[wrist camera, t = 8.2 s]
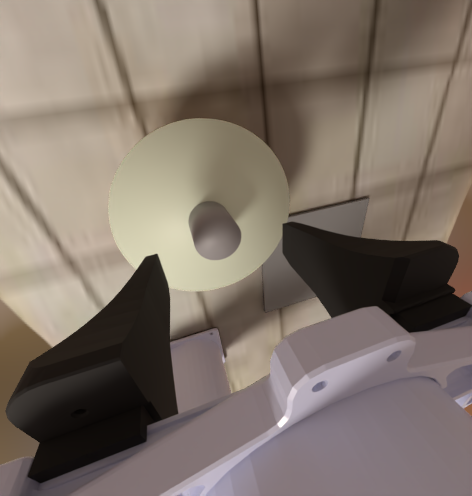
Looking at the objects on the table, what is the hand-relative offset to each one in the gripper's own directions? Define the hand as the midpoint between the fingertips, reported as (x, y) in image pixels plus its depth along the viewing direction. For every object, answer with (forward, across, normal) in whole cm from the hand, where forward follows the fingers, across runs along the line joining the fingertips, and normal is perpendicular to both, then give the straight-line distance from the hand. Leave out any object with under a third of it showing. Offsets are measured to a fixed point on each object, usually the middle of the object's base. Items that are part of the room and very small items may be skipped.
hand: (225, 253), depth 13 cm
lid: (+6, 0, 0) cm, 6 cm away
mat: (+10, -13, +11) cm, 20 cm away
